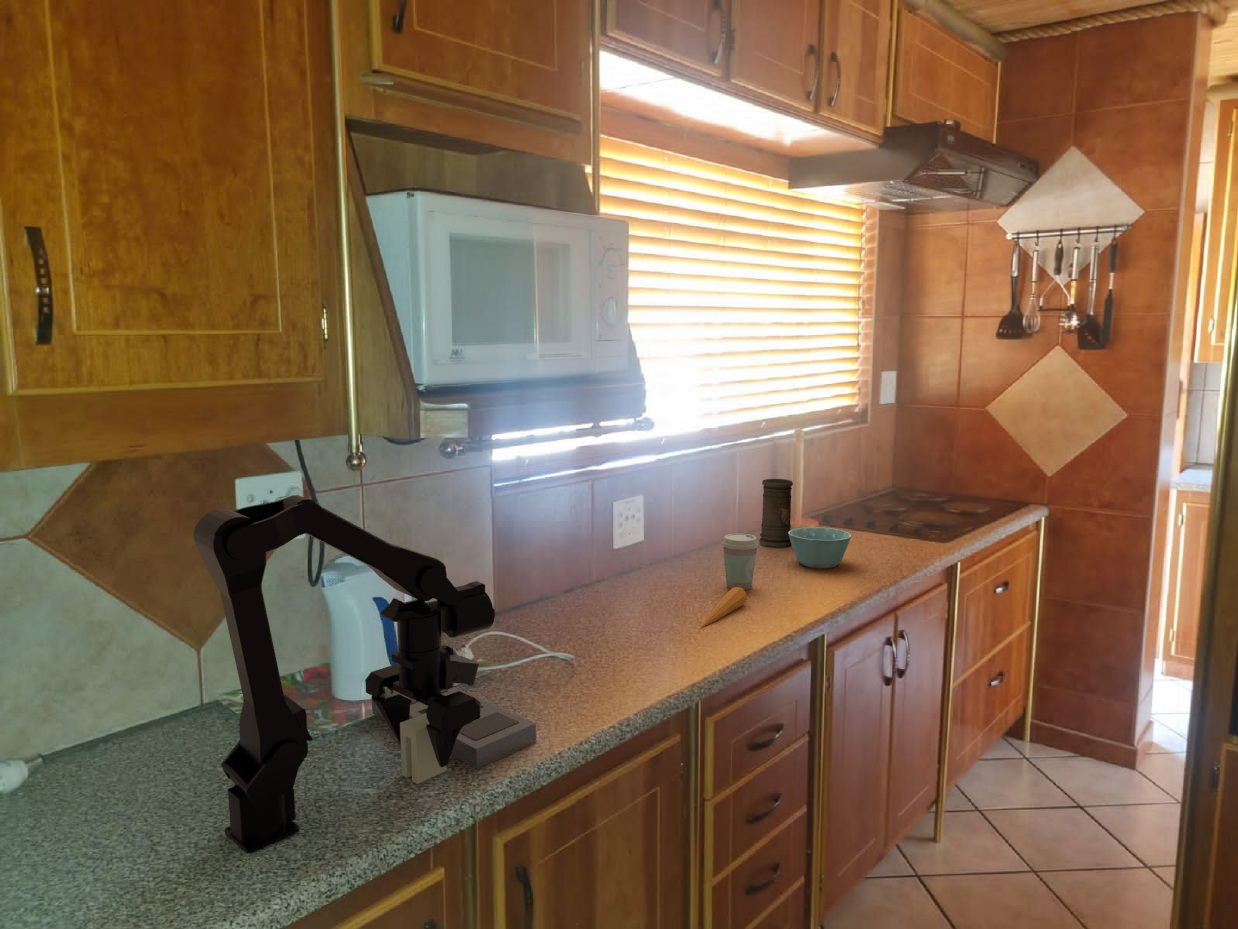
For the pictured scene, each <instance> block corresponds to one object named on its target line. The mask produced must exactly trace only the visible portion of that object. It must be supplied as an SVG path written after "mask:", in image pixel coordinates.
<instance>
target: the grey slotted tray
mask: <svg viewBox="0 0 1238 929" xmlns="http://www.w3.org/2000/svg"><path fill="white" fill-rule="evenodd" d="M458 691H460V692H463V693H465V694H467V695H469V696H472V697H474V698H476V699H477V700H478V701H479V702H481V717H480V719H477V720H475V721H473V722H471V723H469V724H467V725H464V726H463V727H462V729H461V730H460V732H459V734H458V736H457V739H456V742H455V744H454V747H453V750H452V753H451V756H450V757H453V758H455V759H456V760H458V761H460V762H462V763H463V764H466V765H468V766H470V767H472V768H474V769H475V770H478V769H481V768H483V767H485V766H488V765H490V764H492V763H494V762H496V761H499V760H501V759H503V758H505V757H507V756H510V755H512V754H514V753H517V752H519V751H521V750H523V749H525V748H527V747H530V746H532V745H534V744H536V743H537V723H536V722H534V721H531V720H529V719H527V718H525V717H522V716H521V715H518V714H516V713H514V712H511V711H509V710H508V709H504V708H503V707H500V706H498V705H496V704H493V703H490V702H489V701H487V700H484V699H481V698H479V697H478V696H475V695H473V694H470V693H468V692H467V691H463V690H461V689H459V688H457V687H454V686H453V688H451V689H448V690H445V689H443V690H441V693H440V694H442V695H445V696H446V695H449V694H452V693H455V692H458ZM427 708H428V706H427V705H425V704H423V703H421V702H419V701H412V702H411V704H410V718H409V719H412V718H414V717H417V716H420V715H422V714H425V713H426V709H427ZM371 713H373V714H374V715H373V714H372V715H373V716H375V717H377V718H379V719H381V720H383V721H384V722H386V723H387V721H386V720H385V718H384V716H383V715H382V713H381V711H380V710H379V708H378V707H377V705H376V703H375V702H374V701H372V700H371Z"/></svg>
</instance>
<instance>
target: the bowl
mask: <svg viewBox="0 0 1238 929" xmlns="http://www.w3.org/2000/svg"><path fill="white" fill-rule="evenodd" d="M788 534H789V538H790V541H791V547H792V550H793V554H794V556H795V558H796V560H797V562H799V563H800V564H801V565H802V566H804V567H807V568H812V569H813V568H814V569H831V568H835V567H837V565H839V564H840V563H841V562H842V560H843V558H844V555H845V553H846V551H847V550H848V546H849V543H850V540H851V538H852V535H851V533H850V532H847V531H845V530H841V529H836V528H831V527H816V526H815V527H812V526H811V527H799V528H793V529H790V531H789V532H788Z"/></svg>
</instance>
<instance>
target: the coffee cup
mask: <svg viewBox="0 0 1238 929" xmlns="http://www.w3.org/2000/svg"><path fill="white" fill-rule="evenodd" d="M721 542H722V543H721V546H722V547H723V548H722V549H723V561H724V571H725V582H726V583H725V584H726V588H728V589H730V590H731V589H732V588H734V587H739V588H742V589H743V590H744V591H747V590H750V589H752V588H753V587H752V586H753V580H754V574H755V573H754V572H755V565H756V561H757V560H756V559H757V553H758V548H759V546H760V544H759V541H758V539H757V536H756V535H753V534H748V533H729V534H726V535H724V537H723V540H722V541H721Z"/></svg>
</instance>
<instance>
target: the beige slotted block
mask: <svg viewBox="0 0 1238 929" xmlns="http://www.w3.org/2000/svg"><path fill="white" fill-rule="evenodd" d="M428 724H430V723H429V721H428V719H427V717H426V713H425V714H422V715H420V716H417V717H414V718H412V719H409V720H406V721H404V722H401V723H400V739H401V745H400V760H401V762H400V763H401V764H400V765H401V776H403V777H405V778H410V777H411V781H412V782H413V783H415V784H417V785H418V784H421V783H422V782H425V781H427V780H429V779H432V778H433V777H436V776H438V775H441V774H443V773H445V772H447V768H448V767H447V765H446V766H444V767H440V766H439V764H438V761H437V759H436V756H435V753H434V750H433V746H432V743H431V740H430V737H429V734H428V731H427V728H426V725H428Z"/></svg>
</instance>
